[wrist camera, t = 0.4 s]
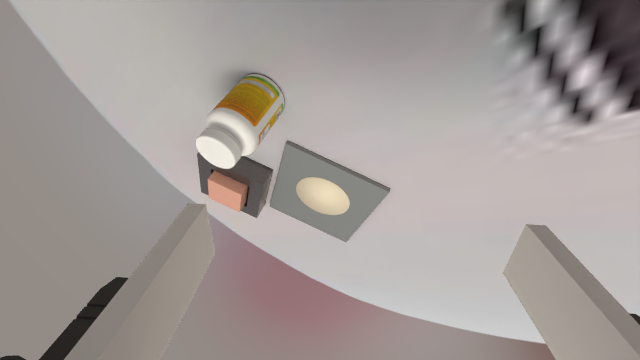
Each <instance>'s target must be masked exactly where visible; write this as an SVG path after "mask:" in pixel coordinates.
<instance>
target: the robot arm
mask: <svg viewBox="0 0 640 360" xmlns="http://www.w3.org/2000/svg"><path fill="white" fill-rule="evenodd" d="M214 255H215V248H214V243H213V238H212V233H211V228H210V223H209V218H208V213H207V208H206V204H190V203H188V204H187V205H186V207H185V208H184V209H183V210H182V212H181V213H180V214H179V215H178V217H177V218H176V219H175V220H174V222H173V223H172V224H171V225H170V227H169V228H168V229H167V231H166V232H165V233H164V234H163V236H162V237H161V238H160V239H159V241H158V242H157V243H156V244H155V246H154V247H153V248H152V250H151V251H150V252H149V253H148V254H147V256H146V257H145V258H144V260H143V261H142V262H141V263H140V265H139V266H138V267H137V268H136V270H135V271H134V272H133V274H132V275H131V276H130V277H129V278H122V277H116V278H115V279H113V280H112V281H111V282H109V283H108V284H107V285H105V286H104V287H102V288H101V289H100V290H99V291H98V292H97V293H96V294H95V296H94V297H93V298H92V299H91V300H90V302H89V303H88V304H87V307H84V309H82V311H81V312H80V313H79V314H78V315H77V318H76V319H74V320H73V321H72V323H70V324H69V326H68V327H67V328H66V329H65V330H64V332H63V333H62V334H61V335H60V336H59V337H58V338H57V340H56V341H55V342H54V343H53V344H52V345H51V347H50V348H49V349H48V350H47V351H46V352H45V353H44V355H43V356H42V357H41V358H40V359H39V360H160V359H161V357H162V355H163V353H164V351H165V349H166V347H167V346H168V344H169V342H170V340H171V338H172V336H173V334H174V332H175V330H176V328H177V326H178V324H179V323H180V321H181V319H182V317H183V315H184V313H185V311H186V309H187V307H188V305H189V303H190V301H191V299H192V298H193V296H194V294H195V292H196V290H197V288H198V286H199V284H200V282H201V280H202V278H203V276H204V274H205V272H206V270H207V269H208V266H209V265H210V263H211V261H212V259H213V257H214ZM503 274H504V275H505V277H506V279H507V280H508V282H509V284H510V285H511V287H512V288H513V290H514V292H515V293H516V295H517V297H518V298H519V300H520V302H521V303H522V305H523V306H524V308H525V310H526V311H527V313H528V315H529V316H530V318H531V320H532V321H533V323H534V324H535V326H536V328H537V329H538V331H539V333H540V334H541V336H542V337H543V339H544V341H545V342H546V344H547V346H548V347H549V349H550V350H551V352H552V354H553V355H554V357H555V359H556V360H640V317H639V316H638V315H636V314H629V313H628V312H627V311H626V310H625V309H624V308H623V307H622V306H621V305H620V304H619V303H618V301H617V300H616V299H615V298H614V297H613V296H612V295H611V294H610V293H609V292H608V291H607V290H606V289H605V288H604V287H603V286H602V285H601V283H600V282H599V281H598V280H597V279H596V278H595V277H594V276H593V275H592V274H591V273H590V272H589V271H588V270H587V269H586V268H585V267H584V265H583V264H582V263H581V262H580V261H579V260H578V259H577V258H576V257H575V256H574V255H573V254H572V253H571V252H570V251H569V250H568V249H567V247H566V246H565V245H564V244H563V243H562V242H561V241H560V240H559V239H558V238H557V237H556V236H555V235H554V234H553V233H552V232H551V231H550V229H549V228H548V227H547V226H545V225H529V224H526V226H525V228H524V230H523V232H522V234H521V236H520V238H519V240H518V243H517V245H516V247H515V249H514V251H513V253H512V255H511V257H510V259H509V261H508V263H507V265H506V267H505V270H504V272H503ZM0 360H26V359H24V358H22V357H20V356H5V357H2V358H0Z"/></svg>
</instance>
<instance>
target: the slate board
mask: <svg viewBox="0 0 640 360" xmlns="http://www.w3.org/2000/svg"><path fill="white" fill-rule="evenodd" d="M389 191H390V188H388V187H386V186H384V185H381V184H379V183H377V182H375V181H373V180H371V179H369V178H367V177H364V176H362V175H360V174H358V173H356V172H354V171H352V170H350V169H347V168H345V167H343V166H341V165H339V164H337V163H335V162H333V161H330V160H328V159H326V158H324V157H322V156H320V155H318V154H315V153H313V152H311V151H309V150H307V149H305V148H303V147H301V146H298V145H296V144H294V143H292V142H290V141H288V142H287V143H286V146H285V150H284V154H283V157H282V161H281V165H280V169H279V173H278V176H277V180H276V184H275V188H274V192H273V195H272V199H271V203H270V207H272V208H274V209H276V210H278V211H281V212H283V213H285V214H287V215H289V216H291V217H293V218H295V219H298V220H300V221H302V222H304V223H306V224H308V225H310V226H313V227H315V228H317V229H319V230H321V231H323V232H325V233H327V234H330V235H332V236H334V237H336V238H338V239H340V240H342V241H345V242H347V241H348V239H349V238H350V237H351V236H352V235H353V234H354V233H355V231H356V230H357V229H358V228H359V227H360V226H361V224H362V223H363V222H364V221H365V220H366V219H367V217H368V216H369V215H370V214H371V213H372V212H373V211H374V209H375V208H376V207H377V206H378V205H379V204H380V202H381V201H382V200H383V199H384V198H385V197H386V195H387V194H388V193H389Z"/></svg>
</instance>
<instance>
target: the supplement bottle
mask: <svg viewBox="0 0 640 360" xmlns="http://www.w3.org/2000/svg"><path fill="white" fill-rule="evenodd" d="M283 109H284V97H283V94H282V92H281V90H280V89H279V87H278V86H277V85H276V84H275V83H274V82H273V81H272V80H270V79H269V78H267V77H265V76H263V75H259V74H250V75H248V76H246V77H244V78H243V79H242V80H241V81H240V82H239V83H238V84H237V85H236V86H235V87H234V88H233V89H232V90H231V91H230V92H229V94H228V95H227V96H226V97H225V98H224V99H223V100H222V101H221V102H220V103H219V104H218V105H217V106H216V107H215V108H214V109H213V110H212V111H211V112H210V113H209V115H208V116H207V119H206V129H205V130H204V131H203V132H202V133H201V135H200V136H199V137H198V138H197V140H196V147H197V149H198V151H199V153H200V154H201V155H202V156H203V157H204V158H205V159H206V160H207V161H208V162H210V163H211V164H213V165H215V166H217V167H220V168H223V169H229V168H232V167H233V166H234V165H235V164H236V163H237V162H238V160H239V159H240V158H241V156H246V155H249V154H251V153H252V152H253V151H254V150H255V149H256V148H257V147H258V145H259V144H260V142H261V141H262V140H263V138H264V137H265V135H266V134H267V133H268V131H269V130H270V128H271V127H272V126H273V124H274V123H275V121H276V120H277V119H278V117H279V116H280V114H281V113H282V111H283Z"/></svg>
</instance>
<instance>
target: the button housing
mask: <svg viewBox="0 0 640 360" xmlns="http://www.w3.org/2000/svg"><path fill="white" fill-rule="evenodd" d="M197 157H198V166H199V175H200V184H201V192H202V193H204V194H207V195H209V191H208V178H209V177H210V175H211V174H212V173H213V172H214V170H215V171H217V172H219V173H221V174H223V175H225V176H227V177H230V178H232V179H234V180H236V181H238V182H240V183H242V184H244V185H247V186H248V190H247V198H246V203H245V205H244V206H243V208H242V209H241V211H243V212H245V213H247V214H249V215H251V216H254V217H256V218H257V217H258V215H259V214H260V212H261V210H262V208H263V207H264V205H265V202H266V198H267V194H268V189H269V185H270V181H271V177H272V172H273V170H272V169H270V168H268V167H266V166H264V165H262V164H260V163H257V162H255V161H253V160H251V159H249V158H247V157H245V156H241V158H240V159H239V160H238V162H237V163H236V164H235V165H234V166H233V167H232V168H229V169H223V168H220V167H217V166H215V165H213V164H211V163H210V162H208V161H207V160H206V159H205V158H204V157H203V156H202V155H201V154H200V153H198V154H197Z"/></svg>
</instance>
